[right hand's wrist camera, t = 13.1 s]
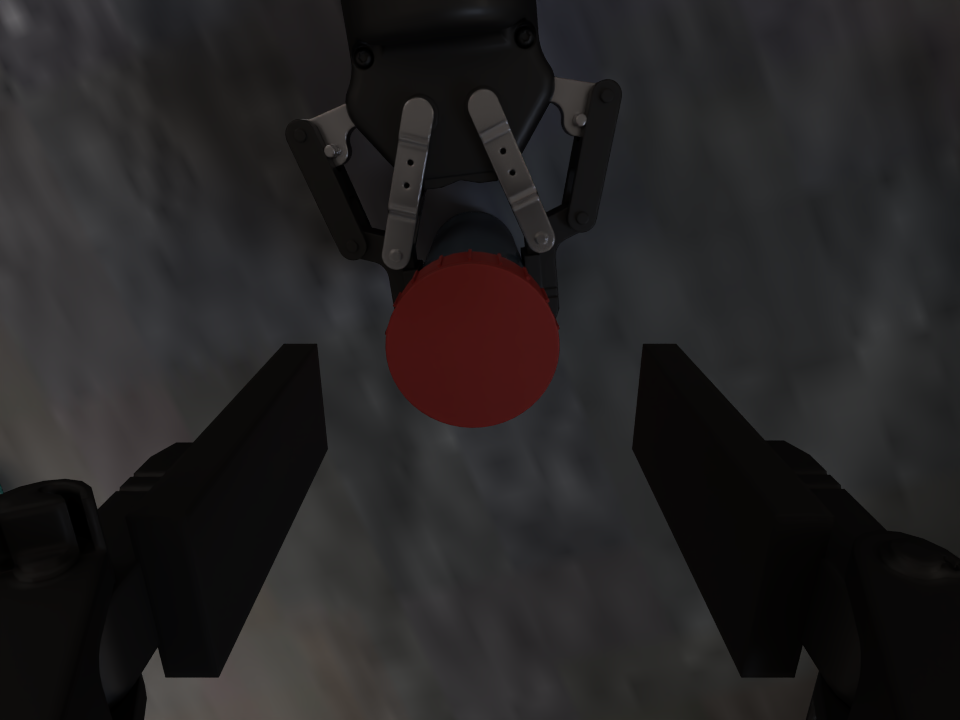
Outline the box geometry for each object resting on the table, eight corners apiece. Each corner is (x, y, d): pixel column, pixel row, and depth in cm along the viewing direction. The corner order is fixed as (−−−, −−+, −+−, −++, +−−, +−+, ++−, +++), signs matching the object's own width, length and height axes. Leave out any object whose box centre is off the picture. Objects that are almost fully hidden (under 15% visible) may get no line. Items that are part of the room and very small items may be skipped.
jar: (533, 247, 33) (579, 333, 18) (480, 311, 34) (484, 439, 20) (466, 193, 32) (459, 238, 17) (414, 261, 33) (367, 357, 19)
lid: (587, 316, 20) (598, 335, 18) (485, 431, 21) (486, 460, 19) (458, 213, 19) (457, 222, 17) (360, 343, 20) (348, 364, 18)
